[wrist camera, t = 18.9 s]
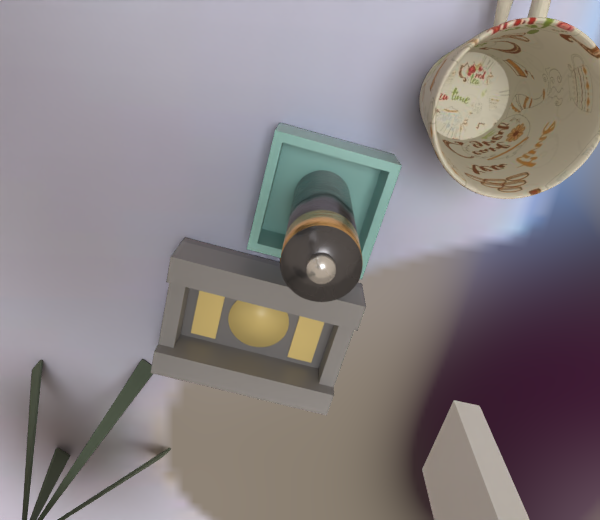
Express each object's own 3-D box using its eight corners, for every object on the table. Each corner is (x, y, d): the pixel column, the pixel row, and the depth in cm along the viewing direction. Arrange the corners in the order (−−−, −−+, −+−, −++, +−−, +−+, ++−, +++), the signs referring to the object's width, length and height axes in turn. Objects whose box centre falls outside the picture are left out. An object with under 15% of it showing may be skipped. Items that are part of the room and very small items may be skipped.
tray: (279, 122, 34) (275, 130, 30) (394, 154, 34) (401, 165, 31) (253, 231, 37) (246, 248, 33) (358, 259, 37) (361, 279, 34)
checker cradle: (185, 237, 37) (170, 256, 34) (362, 283, 38) (365, 307, 35) (165, 345, 41) (150, 372, 38) (326, 385, 42) (326, 415, 38)
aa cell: (301, 163, 34) (290, 220, 22) (357, 178, 34) (375, 243, 23) (287, 216, 36) (269, 296, 24) (340, 231, 36) (349, 316, 24)
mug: (391, 152, 34) (416, 190, 25) (428, -59, 29) (476, -110, 20) (510, 166, 34) (579, 208, 25) (567, -43, 29) (680, -87, 20)
